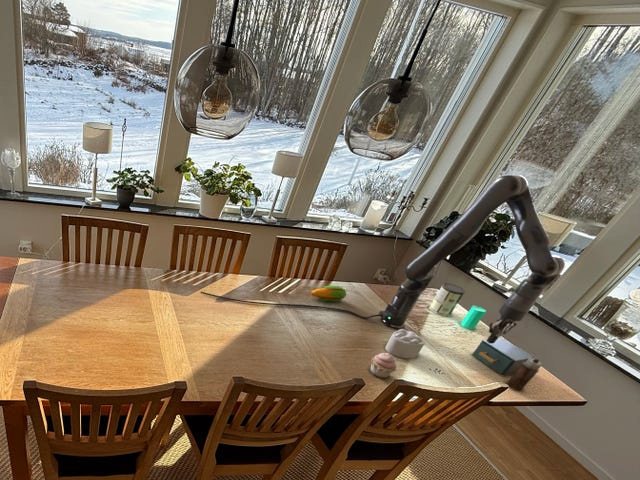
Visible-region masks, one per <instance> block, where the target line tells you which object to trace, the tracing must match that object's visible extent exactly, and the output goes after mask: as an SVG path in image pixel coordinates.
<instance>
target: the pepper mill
mask: <svg viewBox="0 0 640 480" xmlns="http://www.w3.org/2000/svg"><path fill="white" fill-rule="evenodd" d="M542 365H543V363H542V362H541V361H540V359H538V358H529V359H528V360H527V361H526V362H525V363H523V364H522V365H521V366H520V368H519V369H518V370H517V371H516V372H515V374H512V376H511V377H510V378H509V380H508V381H507V382H506V385H507V384H508V385H509V386H508V385H507V386H508V387H509V388H511V389H512V390H514V391H520V392H521V391H522V390H523V389H524V388H525V387H526V386H527V385H528V384H529V383H530V381H531V380H532V379H533V378H534V377H535V376H536V375H537V373H538V372H539V371H540V368H541V367H542Z"/></svg>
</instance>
